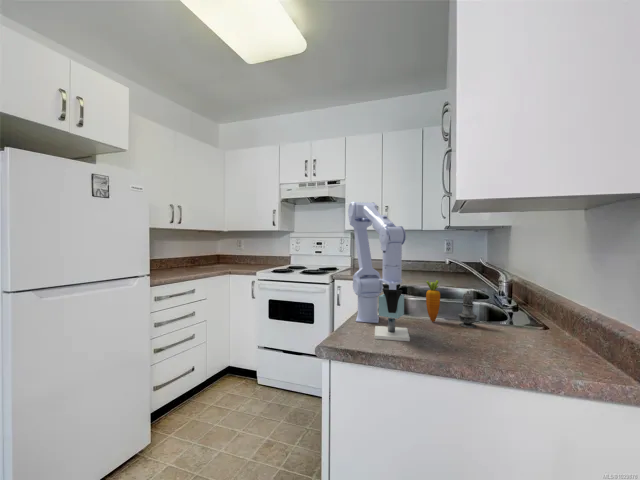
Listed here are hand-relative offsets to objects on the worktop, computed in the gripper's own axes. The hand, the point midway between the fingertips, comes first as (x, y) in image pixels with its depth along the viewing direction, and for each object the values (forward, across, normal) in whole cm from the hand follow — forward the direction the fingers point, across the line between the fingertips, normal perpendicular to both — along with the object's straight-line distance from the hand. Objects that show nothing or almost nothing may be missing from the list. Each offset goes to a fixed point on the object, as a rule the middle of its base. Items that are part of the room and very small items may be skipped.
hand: (391, 309), depth 93 cm
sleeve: (+2, 0, 0) cm, 2 cm away
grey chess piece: (+8, -16, +26) cm, 32 cm away
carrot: (+8, -18, +15) cm, 25 cm away
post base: (+8, 0, 0) cm, 8 cm away
